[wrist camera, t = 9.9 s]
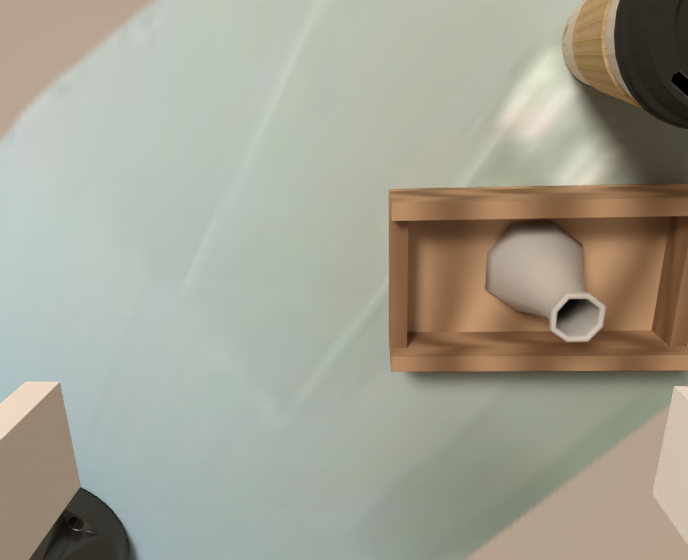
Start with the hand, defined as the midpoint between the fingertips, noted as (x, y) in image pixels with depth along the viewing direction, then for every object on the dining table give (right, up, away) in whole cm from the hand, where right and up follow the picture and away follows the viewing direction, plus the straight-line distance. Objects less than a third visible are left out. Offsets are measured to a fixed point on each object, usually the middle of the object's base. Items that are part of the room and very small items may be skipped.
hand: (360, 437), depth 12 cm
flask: (+14, +5, +30) cm, 34 cm away
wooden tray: (+14, +4, +31) cm, 34 cm away
